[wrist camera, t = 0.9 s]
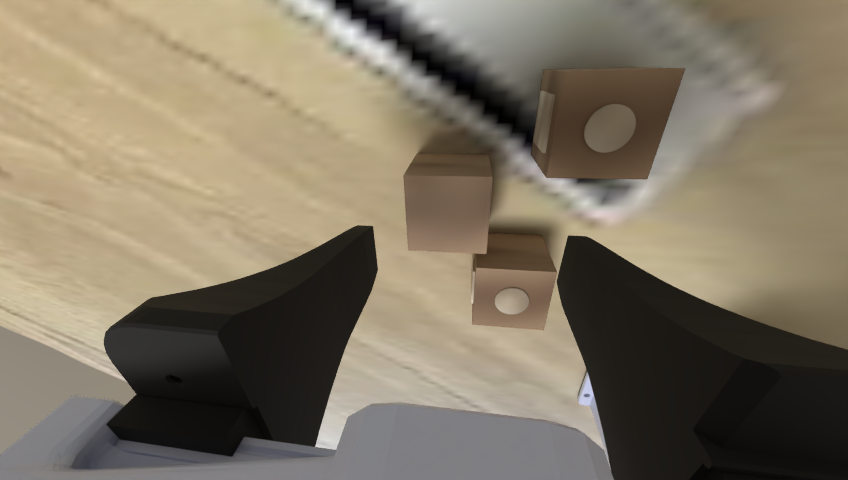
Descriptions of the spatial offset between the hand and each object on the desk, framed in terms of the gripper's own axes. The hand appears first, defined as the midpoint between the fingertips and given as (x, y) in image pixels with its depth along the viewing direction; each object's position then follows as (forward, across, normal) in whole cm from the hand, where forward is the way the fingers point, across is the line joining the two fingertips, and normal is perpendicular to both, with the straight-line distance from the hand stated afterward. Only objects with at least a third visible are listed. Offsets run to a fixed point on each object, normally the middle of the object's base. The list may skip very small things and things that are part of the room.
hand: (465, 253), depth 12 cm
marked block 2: (+10, -3, +6) cm, 12 cm away
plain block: (+10, +1, +1) cm, 10 cm away
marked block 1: (+10, -6, -4) cm, 12 cm away
